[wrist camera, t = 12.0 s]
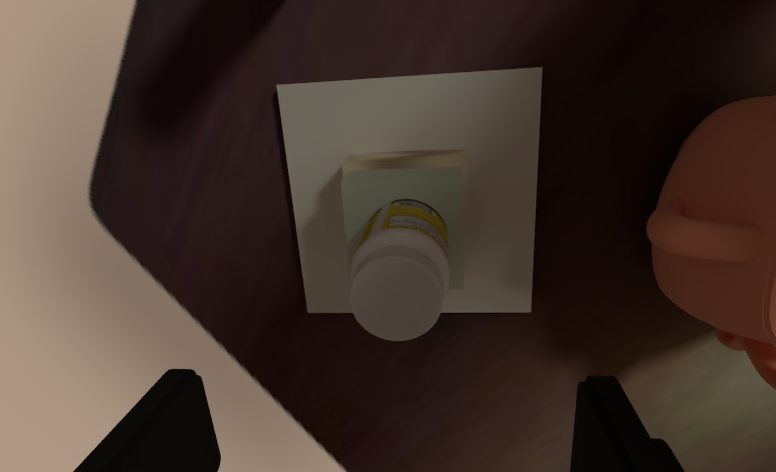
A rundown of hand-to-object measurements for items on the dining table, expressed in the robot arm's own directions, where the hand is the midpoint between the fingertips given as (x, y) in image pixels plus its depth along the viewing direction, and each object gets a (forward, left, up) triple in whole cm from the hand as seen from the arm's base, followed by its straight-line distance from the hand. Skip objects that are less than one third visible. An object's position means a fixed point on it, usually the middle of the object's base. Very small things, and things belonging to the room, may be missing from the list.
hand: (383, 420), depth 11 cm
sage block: (+1, +1, -19) cm, 19 cm away
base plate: (+1, +1, -24) cm, 24 cm away
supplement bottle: (+1, +1, -17) cm, 16 cm away
